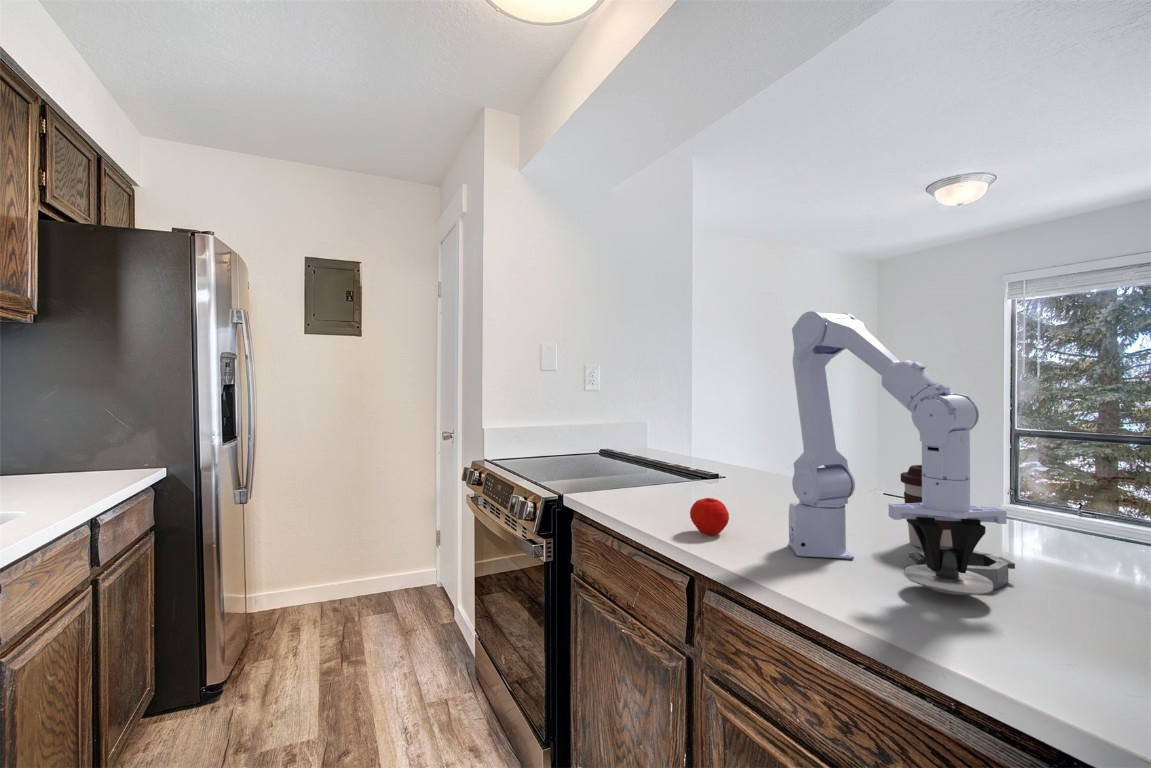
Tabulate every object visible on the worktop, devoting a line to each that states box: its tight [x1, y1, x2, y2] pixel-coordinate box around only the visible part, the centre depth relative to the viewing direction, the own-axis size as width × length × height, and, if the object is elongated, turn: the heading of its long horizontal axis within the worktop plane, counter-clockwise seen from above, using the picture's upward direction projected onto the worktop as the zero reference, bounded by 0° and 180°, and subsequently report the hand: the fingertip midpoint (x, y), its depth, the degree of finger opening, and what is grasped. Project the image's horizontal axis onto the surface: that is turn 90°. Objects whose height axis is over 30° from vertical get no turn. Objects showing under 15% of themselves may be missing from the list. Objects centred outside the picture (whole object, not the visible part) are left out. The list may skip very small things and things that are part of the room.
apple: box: [689, 497, 730, 536], centre depth 107 cm, size 8×8×7 cm
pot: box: [908, 548, 1016, 590], centre depth 82 cm, size 14×11×3 cm
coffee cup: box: [900, 464, 952, 549], centre depth 97 cm, size 10×10×15 cm
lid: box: [904, 546, 994, 596], centre depth 75 cm, size 10×10×5 cm
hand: (946, 570), depth 75 cm, fingers closed on lid, 3 cm apart
